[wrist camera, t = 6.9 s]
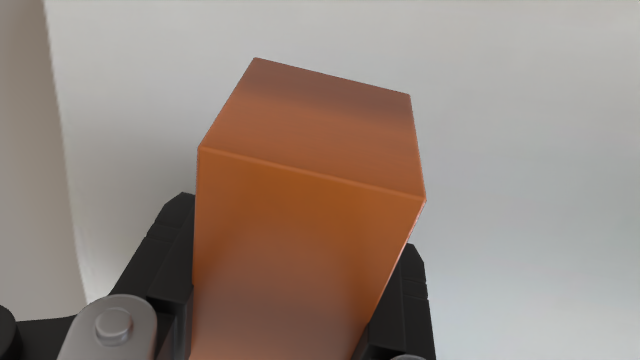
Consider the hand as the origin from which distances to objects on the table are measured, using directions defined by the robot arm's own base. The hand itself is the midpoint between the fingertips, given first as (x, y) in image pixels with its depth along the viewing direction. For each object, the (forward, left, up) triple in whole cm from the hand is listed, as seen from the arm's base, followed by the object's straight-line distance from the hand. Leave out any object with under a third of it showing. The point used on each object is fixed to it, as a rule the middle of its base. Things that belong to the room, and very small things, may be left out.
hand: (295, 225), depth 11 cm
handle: (0, 0, 0) cm, 0 cm away
